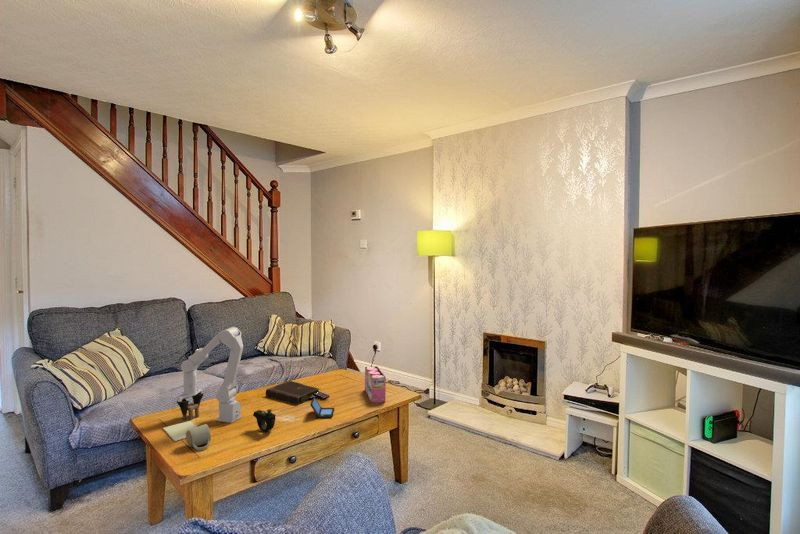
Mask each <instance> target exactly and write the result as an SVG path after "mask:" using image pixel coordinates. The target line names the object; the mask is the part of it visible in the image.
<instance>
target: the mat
mask: <svg viewBox="0 0 800 534" xmlns="http://www.w3.org/2000/svg"><path fill="white" fill-rule="evenodd" d="M196 427H199V426H198V425H197V424H196V423H194V421H193V420H188V421H184V422H182V423H177V424H173V425H168V426H165V427H162V429H163V430H164V432H165V431H166V434H168V436H169V437H170V438H171V439H172V441H174V442H175V441H176V442H179V441H178V440H180V441H182V440H181V439H183V440H186V439H185V438H186V432H187V431H188V430H190V429H192V428H196Z"/></svg>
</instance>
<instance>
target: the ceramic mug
mask: <svg viewBox="0 0 800 534" xmlns="http://www.w3.org/2000/svg"><path fill="white" fill-rule="evenodd" d="M211 436H212V435H211V430H210V428H209V425H208V424H207V423H204V424H200V425H199V426H198V427H196V428H192V429H190V430H188V431H187V432H186V439H185V441H186V445H187V446H188V447H189V448H194V449H195V450H196V451H204V450H203V449H205V450H207V449H208V448H209V446H210V443H211V440H212V439H211ZM202 445H205V446H202ZM198 446H200V447H198ZM201 446H202V447H201Z"/></svg>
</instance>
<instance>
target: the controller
mask: <svg viewBox="0 0 800 534" xmlns="http://www.w3.org/2000/svg"><path fill="white" fill-rule="evenodd" d="M272 411H273V409H267V410H266V411H265V410H261V409H258V410H255V411H253V414H252V415H253V417H254V418H255V419H256V422H257V423H256V424H257V426H258V428H259V429H260V430H261V431H262V432H265V433H266V432H269V431H272V429H274V426H275V424H276V423H275V422H276V416H277V415H276V414H275V413H273V412H272Z"/></svg>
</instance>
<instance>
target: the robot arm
mask: <svg viewBox="0 0 800 534" xmlns="http://www.w3.org/2000/svg"><path fill="white" fill-rule="evenodd" d="M219 344H223V345H225V346H226V347H228V348H229V350H230V352H229V357H228V361H227V366H226V370H225V373H224V379H223V381H222V383H221V385H220V387H219V389H218V391H217V392H216V394H215V398H216V400H217V402H218V416H219V417H217V418H216V419H215V420H214V421H215V422H223V423H229V424H231V423H234V422H236V421H237V420H239V419H241V418H243V417H242V414H241V413H242V409H241V408H242V405H241V402H239V401H238V400H236V395H237V394H238V387H237V386H238V383H237V381H236V380H237V377H238V372H239V367H240V363H241V359H242V354H243V350H244V344H243V339H242V331H240V329H239V328H238V327H236V326H231V327H229V328H226V329H223V330H220V332H219V333H217V334H216V335H215V336H214V337H212V339H210V341H209V342H208V343H207V344H206V345H205V346H204V347H200V348H197V349H195V350H194V353H193V354H191V355H190V356H188V357H187V358H188V359H187V360H183V362H182V363H181V365H180V369H181V371H182V372H183V392H182V394H181V395H179V396H177V397H176V403H177V405H178V406H179V409H180V411H181V415H182V416H183V415H186V416H187V413H188V410H187V407H188V404H190V400H187V399H190V398H191V397H192V402H193V404H199V406H200V404H201V402H202V399H203V397H204V392H203V391H204V389H203V388H201V387H200V388H197V387H198V385H197V384H198V383H197V378H198V377H197V375H198V374H197V373H198V368H199V367H200V365H201V364H202V363H203V362H204V361H205V360H206V359H207V358H208V357H209V353H210V352H211V351H212V350H214V348H216V347H217V346H218V345H219Z"/></svg>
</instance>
